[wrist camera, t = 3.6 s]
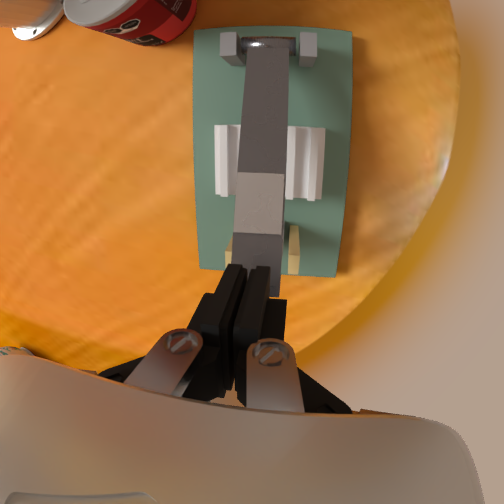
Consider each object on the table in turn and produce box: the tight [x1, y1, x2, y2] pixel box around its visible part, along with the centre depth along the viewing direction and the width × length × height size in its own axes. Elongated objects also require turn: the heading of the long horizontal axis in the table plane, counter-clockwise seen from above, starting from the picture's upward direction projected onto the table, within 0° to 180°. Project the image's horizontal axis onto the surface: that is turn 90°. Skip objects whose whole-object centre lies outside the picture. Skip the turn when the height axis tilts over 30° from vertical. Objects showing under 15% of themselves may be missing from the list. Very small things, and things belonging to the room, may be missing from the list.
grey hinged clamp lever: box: [231, 36, 296, 297], centre depth 18 cm, size 19×4×2 cm, turn 1°
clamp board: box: [193, 26, 353, 278], centre depth 23 cm, size 24×14×8 cm, turn 179°
